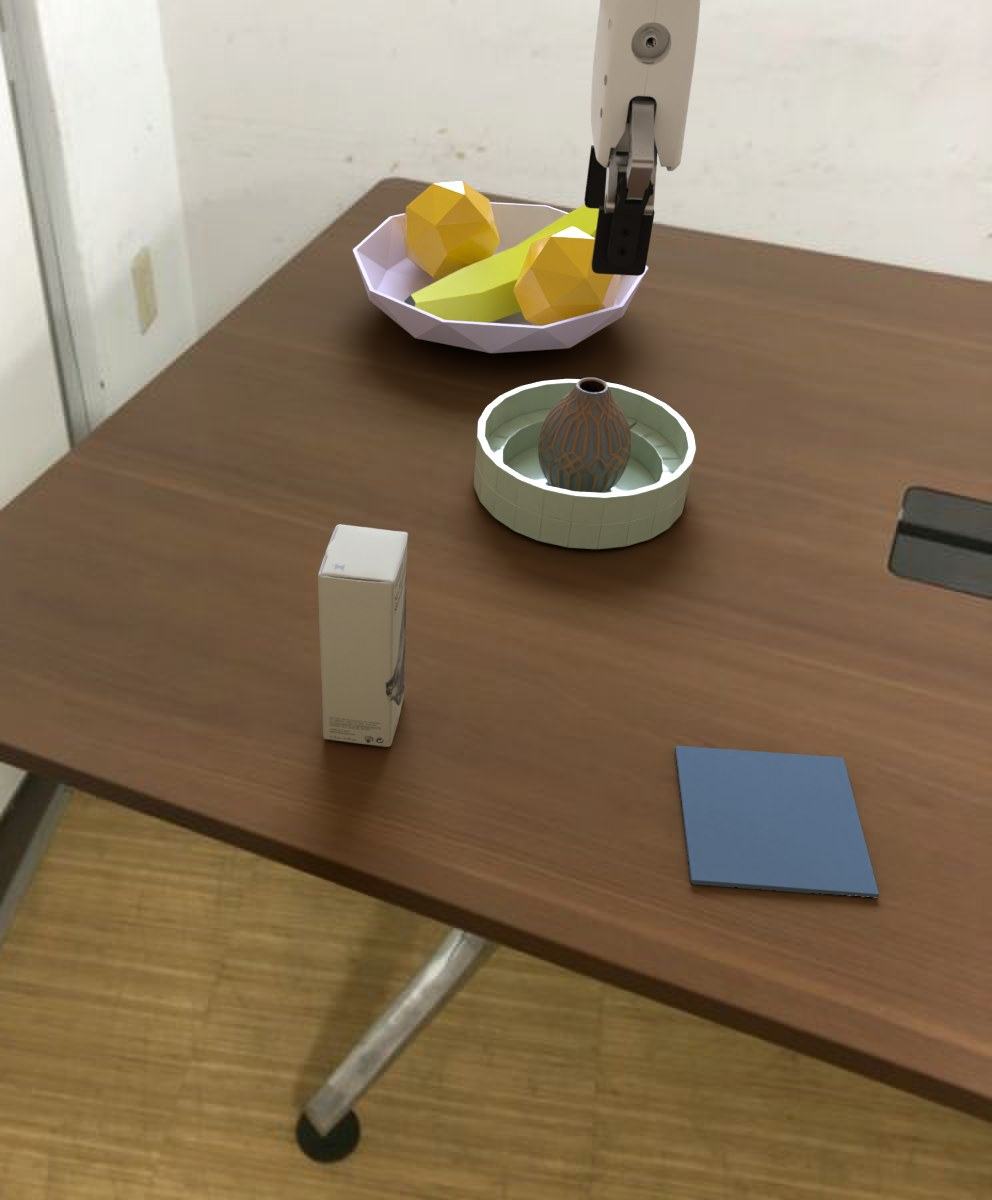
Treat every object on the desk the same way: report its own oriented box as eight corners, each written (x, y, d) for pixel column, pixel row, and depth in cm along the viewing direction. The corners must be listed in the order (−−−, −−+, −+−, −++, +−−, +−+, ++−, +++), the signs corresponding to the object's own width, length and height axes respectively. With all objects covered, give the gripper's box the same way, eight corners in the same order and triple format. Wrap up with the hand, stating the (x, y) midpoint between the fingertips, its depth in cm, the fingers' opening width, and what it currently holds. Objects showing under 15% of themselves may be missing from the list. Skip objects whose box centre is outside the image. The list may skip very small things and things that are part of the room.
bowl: (674, 438, 102) (684, 385, 99) (694, 560, 90) (706, 503, 86) (477, 426, 103) (480, 373, 100) (469, 546, 90) (473, 489, 87)
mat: (842, 761, 75) (843, 757, 75) (877, 899, 67) (879, 894, 67) (674, 749, 75) (675, 745, 75) (690, 884, 68) (691, 879, 67)
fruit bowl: (390, 403, 105) (393, 278, 98) (336, 265, 126) (334, 153, 118) (700, 373, 110) (724, 252, 103) (599, 244, 130) (613, 136, 123)
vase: (552, 451, 99) (564, 353, 94) (635, 473, 97) (652, 375, 92) (520, 496, 95) (530, 395, 89) (607, 520, 92) (623, 419, 87)
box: (391, 751, 75) (395, 586, 67) (320, 741, 75) (315, 577, 67) (406, 691, 79) (411, 528, 71) (338, 682, 79) (335, 519, 71)
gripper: (746, -12, 61) (686, 304, 73) (705, -90, 75) (659, 188, 86) (594, -19, 62) (557, 298, 73) (579, -95, 75) (550, 182, 86)
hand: (612, 238), depth 79 cm, fingers open, 9 cm apart
